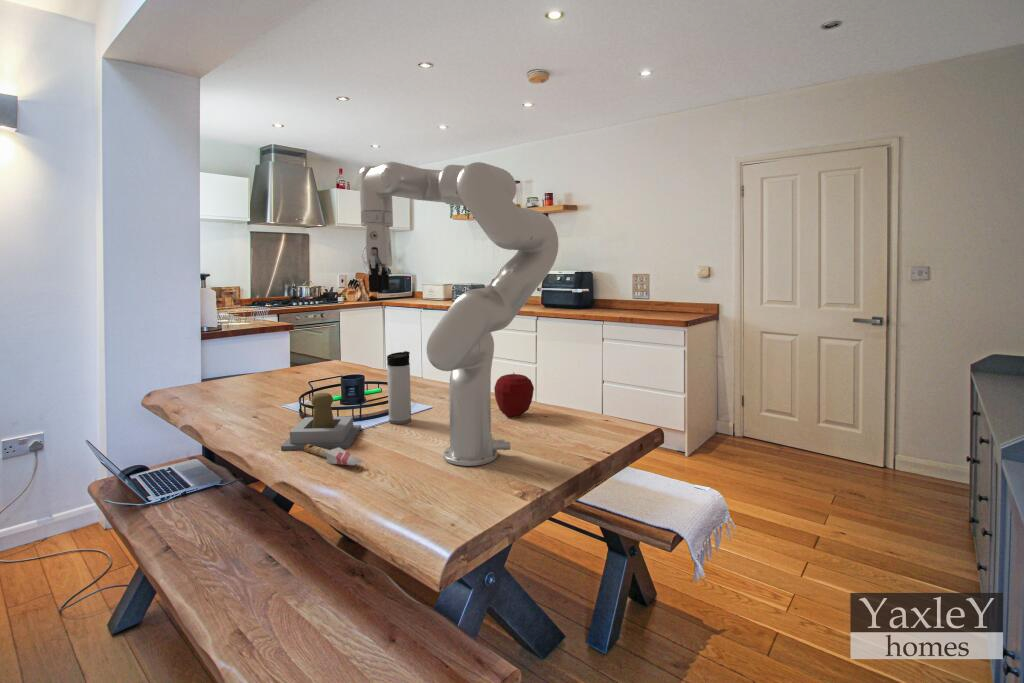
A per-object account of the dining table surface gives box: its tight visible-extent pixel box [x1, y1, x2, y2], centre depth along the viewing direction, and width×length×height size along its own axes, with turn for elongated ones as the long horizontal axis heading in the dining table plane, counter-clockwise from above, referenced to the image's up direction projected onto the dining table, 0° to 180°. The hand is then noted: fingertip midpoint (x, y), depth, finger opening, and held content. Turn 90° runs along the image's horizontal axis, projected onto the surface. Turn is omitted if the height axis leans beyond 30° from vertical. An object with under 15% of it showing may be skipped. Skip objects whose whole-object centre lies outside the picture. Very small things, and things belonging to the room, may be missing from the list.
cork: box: [310, 392, 335, 428], centre depth 137 cm, size 6×6×11 cm
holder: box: [280, 416, 362, 451], centre depth 138 cm, size 16×16×4 cm
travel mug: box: [386, 350, 412, 425], centre depth 152 cm, size 6×7×20 cm
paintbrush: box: [304, 444, 364, 466], centre depth 124 cm, size 4×3×20 cm
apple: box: [493, 372, 535, 419], centre depth 158 cm, size 12×12×13 cm
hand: (379, 290), depth 132 cm, fingers open, 9 cm apart
